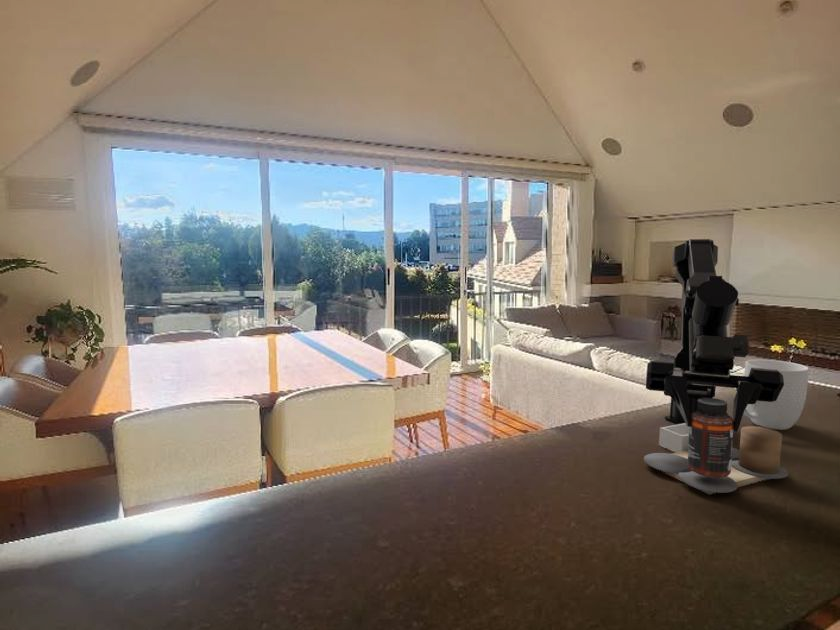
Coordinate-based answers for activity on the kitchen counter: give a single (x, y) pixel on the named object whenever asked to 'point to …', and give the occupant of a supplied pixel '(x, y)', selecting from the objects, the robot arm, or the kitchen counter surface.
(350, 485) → the kitchen counter surface
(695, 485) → the board
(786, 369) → the mug
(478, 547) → the kitchen counter surface
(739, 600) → the kitchen counter surface
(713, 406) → the supplement bottle
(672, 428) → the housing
